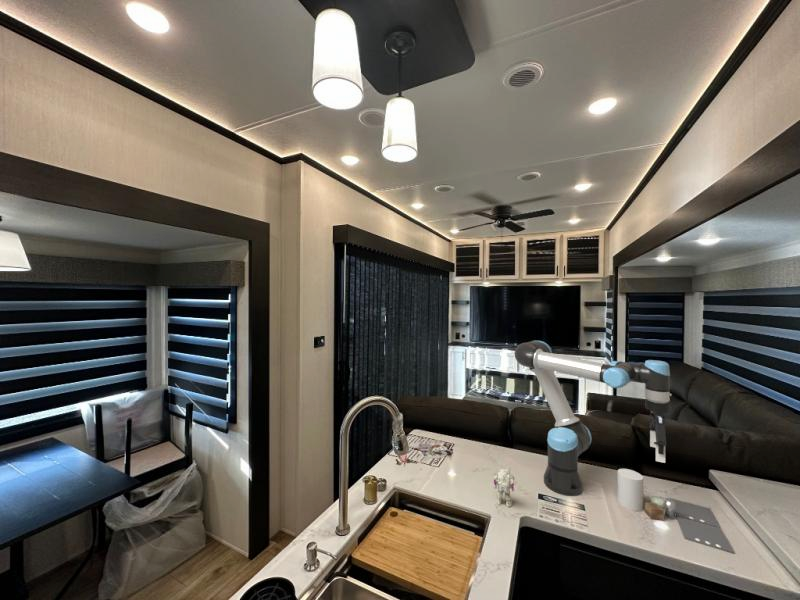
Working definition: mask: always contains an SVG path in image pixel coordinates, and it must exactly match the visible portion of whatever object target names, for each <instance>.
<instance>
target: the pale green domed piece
mask: <svg viewBox="0 0 800 600" xmlns="http://www.w3.org/2000/svg"><path fill="white" fill-rule="evenodd" d="M650 503H657V504H658V505H659V506H660V507H661V508H662V509H663V510H665V499H663V498H662V497H660V496H658V495H651V496H650Z"/></svg>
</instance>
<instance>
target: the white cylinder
mask: <svg viewBox="0 0 800 600" xmlns="http://www.w3.org/2000/svg"><path fill="white" fill-rule="evenodd" d="M617 502H618V504H619V505H620V506H622V507H623V508H625V509H627V510H629V511H634V512H641V511H643V510H644V477H643V475H642V474H641V473H639V472H637V471H635V470H633V469H628V468H619V469H618V470H617Z"/></svg>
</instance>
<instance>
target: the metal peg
mask: <svg viewBox="0 0 800 600" xmlns="http://www.w3.org/2000/svg"><path fill="white" fill-rule="evenodd" d="M669 498H670V497H669ZM669 498H668V497H667V498H664V517H666V518H667V519H669V520H676V515H675V501H673V500H672V499H673V498H672V499H669Z"/></svg>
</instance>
